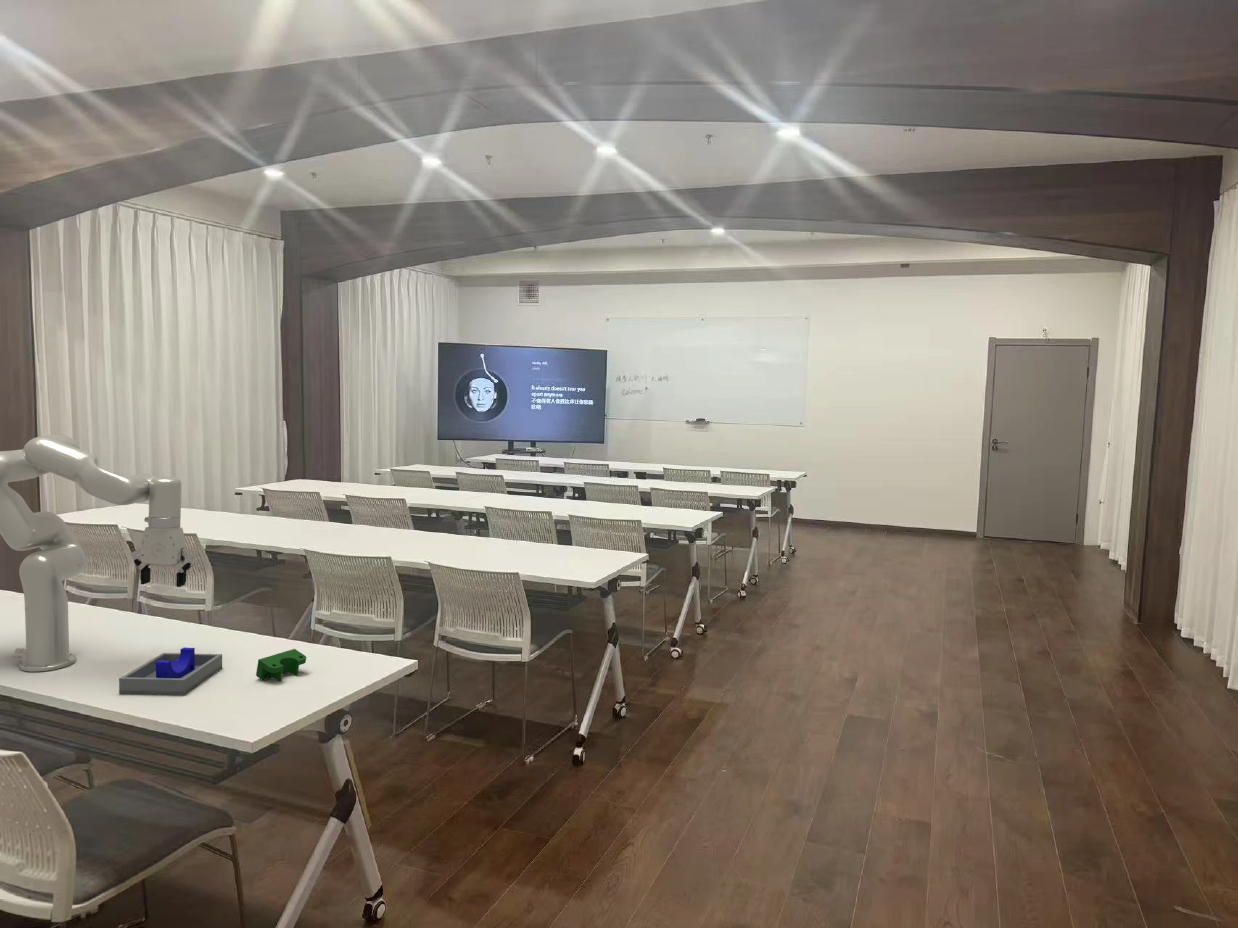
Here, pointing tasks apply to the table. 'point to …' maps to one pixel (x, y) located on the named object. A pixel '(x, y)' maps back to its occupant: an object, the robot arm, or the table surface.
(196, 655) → the gray tray
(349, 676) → the table surface
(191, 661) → the blue long angular piece
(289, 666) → the clamp
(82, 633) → the table surface
